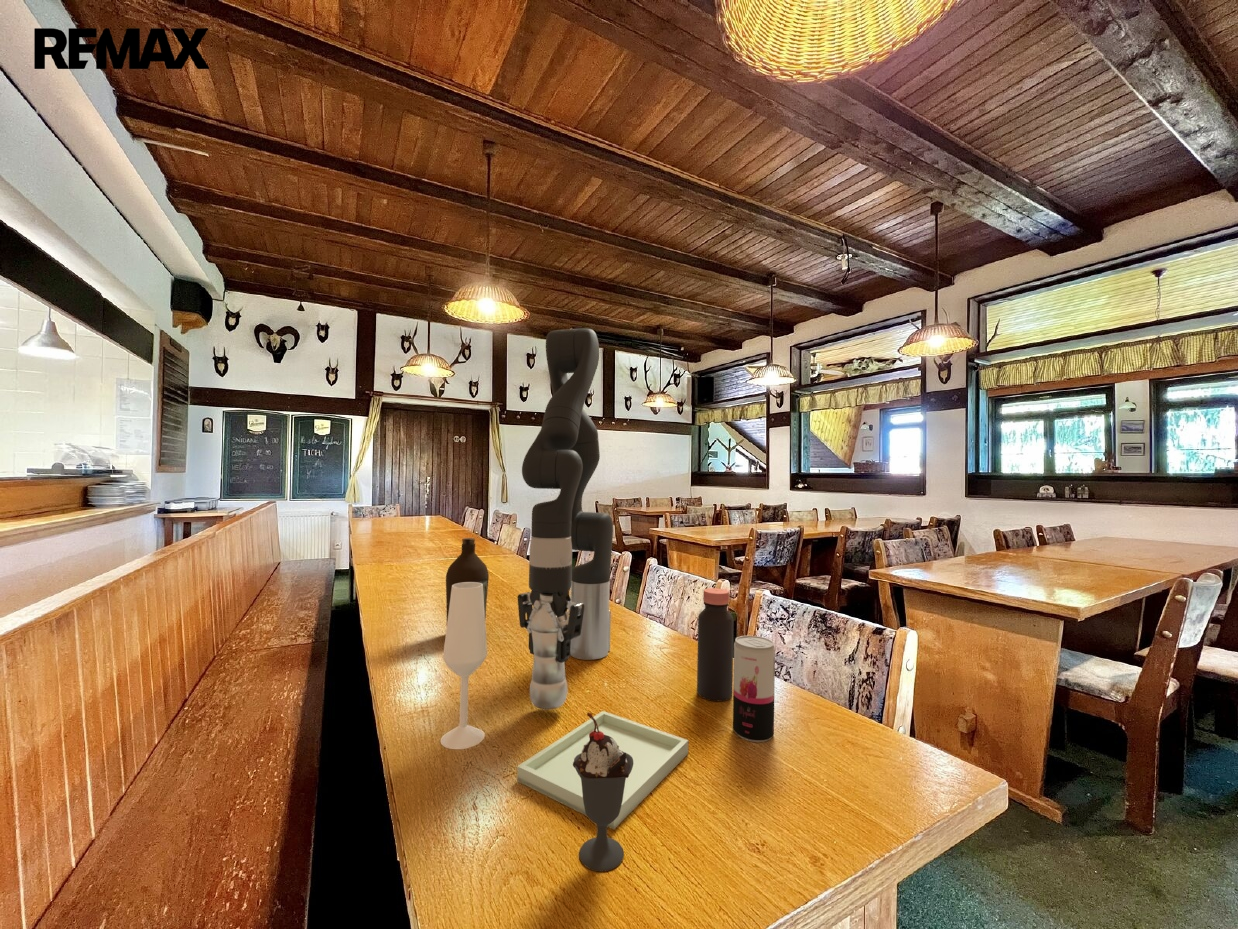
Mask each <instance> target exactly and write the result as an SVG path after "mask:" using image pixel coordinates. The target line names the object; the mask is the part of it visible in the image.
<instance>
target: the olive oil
mask: <svg viewBox="0 0 1238 929" xmlns="http://www.w3.org/2000/svg"><path fill="white" fill-rule="evenodd" d="M461 540H462V541H461V542H462V543H461V553H460V554H459V556H457V557H456V559H455V560H454V561H453V562H452V563H451V564H450V565H449V567H448V569H447V571H446V575H445V593H446V594H445V596H446V598H445V599H446V600H445V601H446V607H445V608H446V622H447V621H448V613H449V605H450V597H451V590H452V585H453V584H456V583H462V582H478V583H482V584H483V595H484V611H485V620H486V618H487V600H488V590H489V588H488V587H489V571H488V567H487V565H486V563H484V561H483V560H482V559H481V558H480V557H479V556H478V555H477V554H476V543H475V542H476V539H475V538H474V537H466V538H462V539H461Z"/></svg>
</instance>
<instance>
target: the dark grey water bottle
mask: <svg viewBox="0 0 1238 929" xmlns="http://www.w3.org/2000/svg"><path fill="white" fill-rule="evenodd" d="M702 599H703V600H702V601H703V605H704V608H703V610H701V611H700V613H699V614H698V617H697V658H696V659H697V664H696V667H697V670H696V672H697V673H696V676H697V677H696V692H697V695H698V696H700V697H701V698H702V699H705V700H707V701H712V702H724V701H728V700H730V699H731V698H733V684H734V617H733V615H732V614H731V612H729V610H728V606H729V603H730V591H728V590H727V589H723V588H714V587H711V588H710V587H709V588H704V590H703V598H702Z"/></svg>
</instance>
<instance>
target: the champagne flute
mask: <svg viewBox="0 0 1238 929" xmlns="http://www.w3.org/2000/svg"><path fill="white" fill-rule="evenodd" d="M444 639H445V640H444V646H443V652H442V653H443V654H442V658H443V661H444V663H445V665H446V666H447V668H448V669H450V671H452V672H453V673H454V674H456V675H457V676H459V677H460V690H459V691H460V694H459V695H460V697H459V699H460V700H459V725H458V726H455V727H454V728H453V729H451V730H449V731H448V732H446V733H444V735H442V736H441V738H440V744H441V746H443V747H444V748H446V749H450V750H465V749H468V748H470V749H471V748H472V747H475V746H477V745H479V744H480V743H481V742H483V740H484V739H485V736H486V735H485V732H484V731H483V730H482V729H481V728H480V729H479V728H477V727H474V726H472V725H471V724H468V707H469V705H468V703H469V702H468V701H469V677H470V676H471V675H472V674H474V673H475V672H476V671H477V670H478V669H479V668H480V667H481V666H482V665H483V663H484V662H485V660H486V658H487V656H488V645H487V642H488V641H487V627H486V619H485V611H484V595H483V584H482V583H478V582H462V583H456V584H453V585H452V590H451V597H450V605H449V613H448V621H447V620H446V630H445V638H444Z"/></svg>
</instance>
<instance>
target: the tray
mask: <svg viewBox="0 0 1238 929" xmlns="http://www.w3.org/2000/svg"><path fill="white" fill-rule="evenodd" d="M593 718H594V719H595V720H596V722H597V725H598V729H599V731H601V732H603V734H604V735H607V736H610V737H611V738H613V739H614V740H615V741H616V743H617V745H618V746H619V750H621V751H623V752H625V753H627V754H629V755H630V756H631V757H632V758H633V763H634V764H633V768H632V770H631V773H630V774H629V777H628V778H626V781H625V787H624V794H623V801H622V805H621V809H620V813H619V816H618V817H617V818H616V819H615V820H614V821H613V822H612V823H610V824H608V825H607V828H610V829H612V830H615V829H616V828H617V827H618V826H619V825H620V824H621V823H622V822H623V821H624V820H625V819H626V818H627V817H628V816H629V815H630V814H631V813H632V812H633V811H634V810H635V809H636V808H637V807H638V806H639V805H640V804H641V803H642V802H643V800H644V799H645V798H647V796H649V794H651V792H653V791H654V789H656V787H657V786H658V785H659V784H660V783H661V782H662V781H663V780H664V779H665V778H666V777H668V775H670V773H671V772H672V771H673V770H674V769H675V768H676V767H677V766H678V764H680V763H681V762H682V761H683V760H684V759H685V758H686V757H687V756H688V755H689V739H686V738H684V737H680V736H678V735H674V734H673V733H672V734H671V733H669V732H665V731H662V730H660V729H657V728H654V727H651V726H648V725H645V724H642V723H639V722H637V721H634V720H630V719H628V718H625V717H622V716H619V715H616V714H614V713H610V712H607V711H605V710H602V711H600V712H599V713H597V714H595V715H594V716H593ZM594 729H595V724H594V721H593V720H592V719H591V718H590V719H588V720H587V721H585V722H583V723H582V724H581V725H579V726H578V727H576V728H574V729H572V730H571V731H570V732H569V733H567V734H564V735H563V736H562V737H560V738H558V739H557V740H555V741H554V742H553V743H551V744H550V745H547V747H545V748H543V749H541V750H540V751H539V752H537V753H535V754H534V755H533V756H531V757H529V758H528V759H527V760H524V761H523V762H522V763H520V764H519V765H517V769H516V771H517V772H516V773H517V774H516V775H517V776H516V781H517V782H518V783H519V784H522V785H524V786H526V787H527V788H530V789H532V790H534V791H536V792H537V793H539V794H542V795H544V796H546V797H547V798H550V799H552V800H554V801H556V802H558V803H560V804H562V805H564V806H566V807H568V808H570V809H571V810H574V811H576V812H578V813H580V814H582V815H584V816H585V817H587V815H586V813H585V808H584V802H583V793H582V783H581V778H580V776H579V775H578V773H577V771H576V769H575V768H574V767H573V762H574V758H575V757H576V756H577V755H579V754H581V753H582V750H583V748H584V745H586V743H587V742H589V741H590V738H589V734H590V733H591V732H592V731H594ZM596 731H597V726H596ZM597 732H598V731H597Z"/></svg>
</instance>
